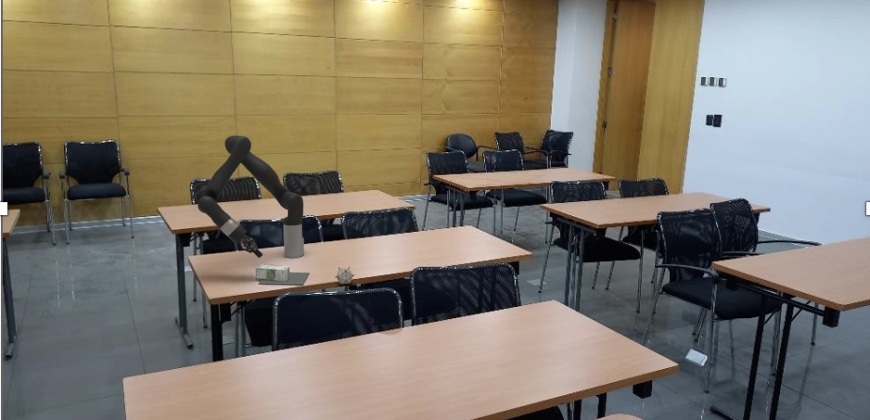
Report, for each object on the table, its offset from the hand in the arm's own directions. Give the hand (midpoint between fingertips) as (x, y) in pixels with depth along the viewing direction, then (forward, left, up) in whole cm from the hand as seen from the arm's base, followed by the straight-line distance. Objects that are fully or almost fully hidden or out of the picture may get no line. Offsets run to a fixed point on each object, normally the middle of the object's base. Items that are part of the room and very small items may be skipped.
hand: (261, 256), depth 287 cm
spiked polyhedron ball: (-26, +29, -11) cm, 41 cm away
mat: (-8, +7, -11) cm, 15 cm away
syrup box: (+2, -1, -7) cm, 8 cm away
